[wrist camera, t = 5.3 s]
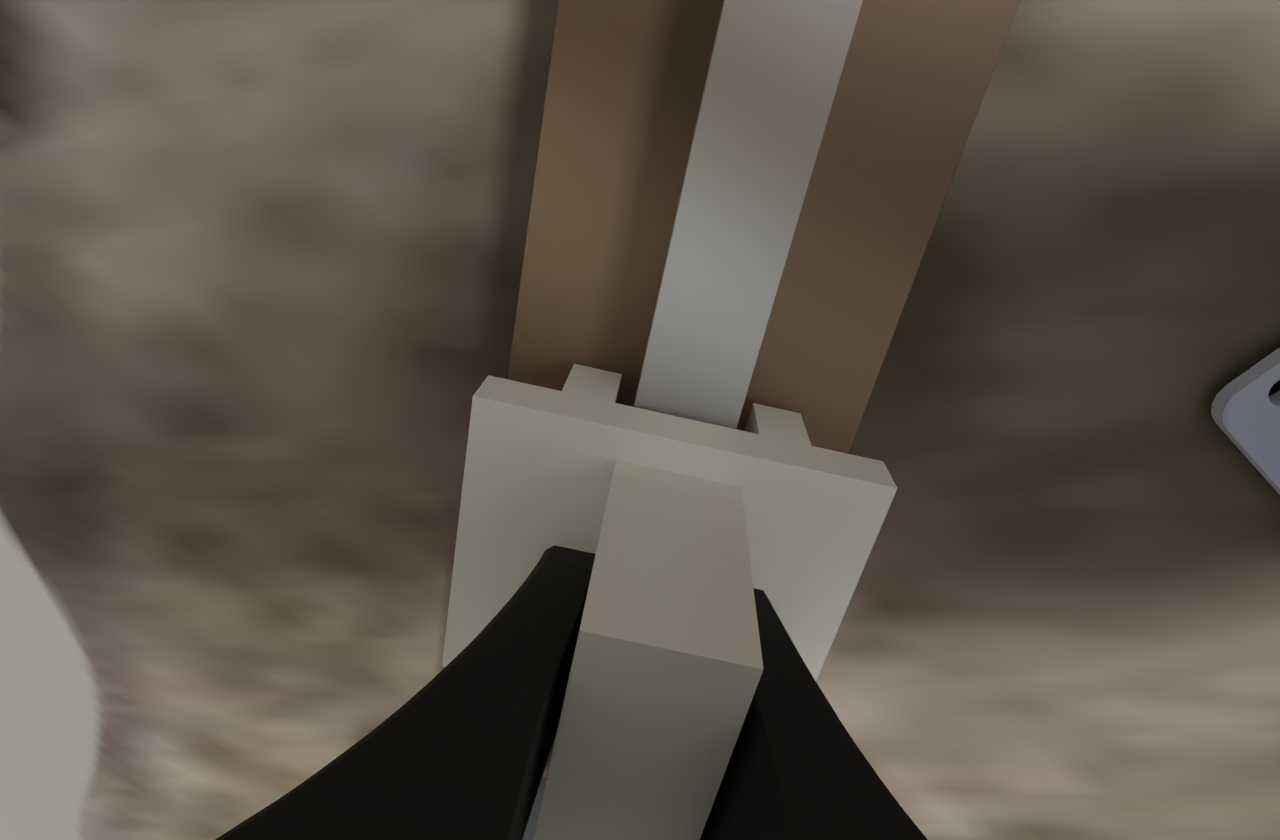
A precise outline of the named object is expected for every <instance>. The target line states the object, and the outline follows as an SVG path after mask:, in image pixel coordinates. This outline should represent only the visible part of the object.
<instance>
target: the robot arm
mask: <svg viewBox="0 0 1280 840" xmlns="http://www.w3.org/2000/svg"><path fill="white" fill-rule="evenodd" d="M1279 380H1280V347H1279V348H1278V349H1276V350H1275V351H1274V352H1272V353H1271V354H1269V355H1268V356H1267V357H1265V358H1264V359H1262V360H1261V361H1260V362H1258V363H1257V364H1255V365H1254V366H1253V367H1251V368H1250V369H1248V370H1247V371H1245V372H1244V373H1243V374H1241V375H1240V376H1238V377H1237V378H1236V379H1234V380H1233V381H1231V382H1230V383H1229V384H1227V385H1226V386H1225V387H1224V388H1223V389H1222V390H1221V391H1220V392H1219V393H1217V395H1216V397H1215V399H1214V401H1213V403H1212V407H1211V415H1212V417H1213V419H1214V421H1215V423H1216V424H1217V425H1218V426H1219V427H1220V428H1221V430H1222V431H1223V432H1224V433H1225V434H1226V435H1227V436H1228V437H1229V439H1230V440H1231V441H1232V442H1233V443H1234V444H1235V445H1236V446H1237V448H1238V449H1239V450H1240V451H1241V452H1242V453H1243V454H1244V455H1245V457H1246V458H1247V459H1248V460H1249V461H1250V462H1251V463H1252V464H1253V466H1254V467H1255V468H1256V469H1257V470H1258V471H1259V472H1260V473H1261V475H1262V476H1263V477H1264V478H1265V479H1266V480H1267V481H1268V482H1269V484H1270V485H1271V486H1272V487H1273V488H1274V489H1275V490H1276V491H1277V493H1278V494H1279V495H1280V390H1279V391H1278V392H1277V393H1275V394H1273V395H1270V396H1268V394H1269V391H1270V388H1271V387H1272V386H1273V385H1274V384H1275V383H1276V382H1277V381H1279ZM594 559H595V554H593V553H589V552H584V551H579V550H575V549H570V548H566V547H561V546H556V545H554V546H552V547H550V548H548V549H546V550H545V551H544V553H543V555H542V557H541V559H540V560H539V562H538V563H537V565H536V566H535V568H534V569H533V570H532V572H531V573H530V575H529V576H528V577H527V579H526V580H525V581H524V583H523V584H522V585H521V586H520V588H519V589H518V590H517V591H516V593H515V594H514V595H513V596H512V597H511V599H510V600H509V601H508V602H507V603H506V605H505V606H504V607H503V608H502V609H501V610H500V611H499V612H498V613H497V615H496V616H495V617H494V618H493V619H492V620H491V621H490V622H489V623H488V625H487V626H486V627H485V628H484V629H483V630H482V631H481V632H480V633H479V634H478V636H477V637H476V638H475V639H474V640H473V641H472V642H471V643H470V644H469V645H468V646H467V647H466V648H465V649H464V650H463V651H462V652H460V653H459V654H458V655H457V656H456V657H455V658H454V659H453V660H452V661H451V662H450V663H449V664H448V665H447V666H446V667H445V668H444V669H443V670H442V671H441V672H440V673H439V674H438V675H437V676H436V677H435V678H434V679H433V680H432V681H430V682H429V683H428V684H427V685H426V686H425V687H424V688H423V689H422V690H420V691H419V692H418V693H417V694H416V695H415V696H414V697H413V698H411V699H410V700H409V701H408V702H407V703H406V704H404V705H403V706H402V707H401V708H400V709H399V710H397V711H396V712H395V713H394V714H392V715H391V716H390V717H389V718H388V719H386V720H385V721H384V722H383V723H381V724H380V725H379V726H378V727H377V728H375V729H374V730H373V731H372V732H370V733H369V734H368V735H367V736H365V737H364V738H363V739H361V740H360V741H359V742H357V743H356V744H355V745H353V746H352V747H351V748H349V749H348V750H347V751H345V752H344V753H343V754H341V755H340V756H339V757H337V758H336V759H335V760H333V761H332V762H331V763H329V764H328V765H327V766H325V767H324V768H322V769H321V770H320V771H318V772H317V773H316V774H314V775H313V776H311V777H310V778H309V779H307V780H306V781H304V782H303V783H302V784H300V785H299V786H297V787H296V788H294V789H293V790H291V791H290V792H289V793H287V794H286V795H284V796H283V797H281V798H280V799H278V800H277V801H275V802H274V803H272V804H270V805H269V806H267V807H266V808H264V809H263V810H261V811H259V812H258V813H256V814H255V815H253V816H252V817H250V818H248V819H247V820H245V821H244V822H242V823H241V824H239V825H237V826H236V827H234V828H233V829H231V830H230V831H228V832H227V833H225V834H223V835H222V836H220V837H219V838H217V839H216V840H522V839H523V836H524V833H525V830H526V827H527V824H528V821H529V817H530V814H531V811H532V808H533V805H534V802H535V799H536V795H537V792H538V789H539V786H540V783H541V780H542V777H543V773H544V770H545V767H546V764H547V761H548V758H549V754H550V751H551V748H552V745H553V742H554V739H555V735H556V732H557V729H558V724H559V719H560V715H561V710H562V706H563V701H564V697H565V692H566V688H567V683H568V678H569V674H570V669H571V665H572V660H573V656H574V651H575V646H576V642H577V637H578V633H579V628H580V624H581V619H582V615H583V610H584V605H585V601H586V596H587V592H588V587H589V582H590V578H591V573H592V568H593V564H594ZM753 589H754V597H755V605H756V613H757V621H758V629H759V637H760V645H761V653H762V661H763V672H762V675H761V677H760V680H759V683H758V685H757V688H756V691H755V693H754V696H753V699H752V701H751V704H750V707H749V709H748V712H747V715H746V717H745V720H744V723H743V725H742V728H741V731H740V733H739V736H738V739H737V741H736V744H735V747H734V749H733V752H732V755H731V757H730V760H729V763H728V765H727V768H726V771H725V773H724V776H723V779H722V781H721V784H720V787H719V789H718V792H717V795H716V797H715V800H714V803H713V805H712V808H711V811H710V813H709V816H708V819H707V822H706V824H705V827H704V830H703V832H702V835H701V838H700V840H927V839H926V837H925V836H924V835H923V834H922V832H921V831H920V830H919V829H918V827H917V826H916V825H915V824H914V822H913V821H912V820H911V819H910V817H909V816H908V815H907V814H906V812H905V811H904V810H903V809H902V807H901V806H900V805H899V804H898V802H897V801H896V800H895V798H894V797H893V796H892V794H891V793H890V792H889V790H888V789H887V788H886V786H885V785H884V784H883V782H882V781H881V780H880V778H879V777H878V775H877V774H876V772H875V771H874V770H873V768H872V767H871V765H870V764H869V762H868V761H867V760H866V758H865V757H864V755H863V754H862V753H861V751H860V750H859V748H858V747H857V745H856V744H855V743H854V741H853V740H852V738H851V737H850V735H849V734H848V732H847V730H846V729H845V727H844V726H843V724H842V723H841V721H840V720H839V718H838V717H837V715H836V713H835V712H834V710H833V709H832V707H831V705H830V704H829V702H828V701H827V699H826V697H825V696H824V694H823V692H822V691H821V689H820V688H819V686H818V684H817V683H816V681H815V680H814V678H813V676H812V674H811V673H810V671H809V669H808V668H807V666H806V664H805V663H804V661H803V659H802V657H801V656H800V654H799V652H798V650H797V649H796V647H795V645H794V643H793V642H792V640H791V638H790V636H789V635H788V633H787V631H786V629H785V627H784V626H783V624H782V622H781V620H780V619H779V617H778V615H777V613H776V611H775V610H774V608H773V606H772V604H771V602H770V601H769V599H768V597H767V596H766V594H765V592H764V591H763V590H760V589H755V588H753Z"/></svg>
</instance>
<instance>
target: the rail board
mask: <svg viewBox="0 0 1280 840" xmlns="http://www.w3.org/2000/svg"><path fill="white" fill-rule="evenodd" d="M1019 1H1020V0H559V2H558V10H557V17H556V24H555V32H554V39H553V46H552V54H551V61H550V68H549V76H548V83H547V90H546V98H545V105H544V112H543V120H542V127H541V135H540V142H539V149H538V157H537V164H536V171H535V179H534V186H533V193H532V201H531V208H530V215H529V223H528V230H527V237H526V245H525V252H524V259H523V267H522V274H521V281H520V289H519V296H518V303H517V311H516V318H515V325H514V333H513V340H512V347H511V355H510V362H509V369H508V377H507V379H508V380H513V381H517V382H522V383H526V384H531V385H535V386H540V387H545V388H549V389H554V390H558V391H562V389H563V387H564V385H565V382H566V380H567V378H568V376H569V374H570V371H571V369H572V367H573V365H574V364H578V365H583V366H587V367H592V368H596V369H601V370H605V371H610V372H614V373H619V374H622V376H621V381H620V386H619V391H618V395H617V400H616V403H618V404H622V405H627V406H632V407H636V408H641V409H645V410H650V411H655V412H659V413H664V414H668V415H673V416H677V417H682V418H687V419H691V420H696V421H700V422H705V423H710V424H714V425H719V426H723V427H728V428H732V429H737V430H742V431H745V428H746V425H747V421H748V418H749V415H750V411H751V408H752V405H753V403H756V404H760V405H765V406H770V407H774V408H779V409H783V410H788V411H792V412H797V413H800V414H801V416H802V419H803V422H804V425H805V428H806V431H807V434H808V437H809V440H810V442H811V445H812V446H815V447H819V448H824V449H829V450H833V451H838V452H842V453H847V454H849V451H850V448H851V446H852V443H853V440H854V438H855V435H856V432H857V430H858V427H859V425H860V422H861V419H862V417H863V414H864V411H865V409H866V406H867V403H868V401H869V398H870V395H871V393H872V390H873V387H874V385H875V382H876V379H877V377H878V374H879V372H880V369H881V366H882V364H883V361H884V358H885V356H886V353H887V350H888V348H889V345H890V342H891V340H892V337H893V334H894V332H895V329H896V326H897V324H898V321H899V319H900V316H901V313H902V311H903V308H904V305H905V303H906V300H907V297H908V295H909V292H910V289H911V287H912V284H913V281H914V279H915V276H916V274H917V271H918V268H919V266H920V263H921V260H922V258H923V255H924V252H925V250H926V247H927V244H928V242H929V239H930V236H931V234H932V231H933V228H934V226H935V223H936V221H937V218H938V215H939V213H940V210H941V207H942V205H943V202H944V199H945V197H946V194H947V191H948V189H949V186H950V183H951V181H952V178H953V175H954V173H955V170H956V168H957V165H958V162H959V160H960V157H961V154H962V152H963V149H964V146H965V144H966V141H967V138H968V136H969V133H970V130H971V128H972V125H973V122H974V120H975V117H976V115H977V112H978V109H979V107H980V104H981V101H982V99H983V96H984V93H985V91H986V88H987V85H988V83H989V80H990V77H991V75H992V72H993V69H994V67H995V64H996V62H997V59H998V56H999V54H1000V51H1001V48H1002V46H1003V43H1004V40H1005V38H1006V35H1007V32H1008V30H1009V27H1010V24H1011V22H1012V19H1013V16H1014V14H1015V11H1016V9H1017V6H1018V3H1019ZM556 733H557V732H556ZM555 737H556V735H555ZM554 742H555V739H554ZM554 742H553V745H552V748H551V751H550V754H549V758H548V761H547V764H546V767H545V770H544V773H543V777H547V774H548V770H549V765H550V761H551V756H552V751H553V747H554Z"/></svg>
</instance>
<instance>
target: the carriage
mask: <svg viewBox="0 0 1280 840" xmlns="http://www.w3.org/2000/svg"><path fill="white" fill-rule="evenodd" d="M621 376H622V374H619V373H614V372H610V371H605V370H601V369H596V368H592V367H587V366H583V365H578V364H574V365H573V367H572V369H571V371H570V374H569V376H568V378H567V380H566V382H565V385H564V387H563V389H562V391H558V390H554V389H549V388H545V387H540V386H535V385H531V384H526V383H522V382H517V381H513V380H508V379H503V378H499V377H494V376H490V375H488V376H487V378H486V379H485V380H484V382H483V383H482V384H481V386H480V387H479V388H478V390H477V391H476V392H475V394H474V395H473V399H472V408H471V416H470V425H469V434H468V442H467V451H466V460H465V469H464V477H463V486H462V495H461V503H460V512H459V521H458V529H457V538H456V547H455V555H454V564H453V573H452V582H451V590H450V599H449V608H448V616H447V625H446V634H445V642H444V651H443V660H442V666H443V667H446V666H447V665H448V664H449V663H450V662H451V661H452V660H453V659H454V658H455V657H456V656H457V655H458V654H459V653H460V652H462V651H463V650H464V649H465V648H466V647H467V646H468V645H469V644H470V643H471V642H472V641H473V640H474V639H475V638H476V637H477V636H478V634H479V633H480V632H481V631H482V630H483V629H484V628H485V627H486V626H487V625H488V623H489V622H490V621H491V620H492V619H493V618H494V617H495V616H496V615H497V613H498V612H499V611H500V610H501V609H502V608H503V607H504V606H505V605H506V603H507V602H508V601H509V600H510V599H511V597H512V596H513V595H514V594H515V593H516V591H517V590H518V589H519V588H520V586H521V585H522V584H523V583H524V581H525V580H526V579H527V577H528V576H529V575H530V573H531V572H532V570H533V569H534V568H535V566H536V565H537V563H538V562H539V560H540V559H541V557H542V555H543V553H544V551H545V550H546V549H548V548H550V547H552V546H554V545H556V546H561V547H566V548H570V549H575V550H579V551H584V552H589V553H593V554H595V559H594V564H593V568H592V573H591V578H590V582H589V587H588V592H587V596H586V601H585V605H584V610H583V615H582V619H581V624H580V628H579V633H578V637H577V642H576V646H575V651H574V656H573V660H572V665H571V669H570V674H569V678H568V683H567V688H566V692H565V697H564V701H563V706H562V710H561V715H560V719H559V724H558V729H557V733H556V737H555V742H554V747H553V751H552V756H551V761H550V765H549V770H548V774H547V779H546V784H545V788H544V793H543V798H542V802H541V807H540V811H539V816H538V821H537V825H536V830H535V835H534V839H533V840H700V838H701V835H702V832H703V830H704V827H705V824H706V822H707V819H708V816H709V813H710V811H711V808H712V805H713V803H714V800H715V797H716V795H717V792H718V789H719V787H720V784H721V781H722V779H723V776H724V773H725V771H726V768H727V765H728V763H729V760H730V757H731V755H732V752H733V749H734V747H735V744H736V741H737V739H738V736H739V733H740V731H741V728H742V725H743V723H744V720H745V717H746V715H747V712H748V709H749V707H750V704H751V701H752V699H753V696H754V693H755V691H756V688H757V685H758V683H759V680H760V677H761V675H762V672H763V661H762V653H761V645H760V637H759V629H758V621H757V613H756V605H755V597H754V589H753V588H755V589H760V590H763V591H764V592H765V594H766V596H767V597H768V599H769V601H770V602H771V604H772V606H773V608H774V610H775V611H776V613H777V615H778V617H779V619H780V620H781V622H782V624H783V626H784V627H785V629H786V631H787V633H788V635H789V636H790V638H791V640H792V642H793V643H794V645H795V647H796V649H797V650H798V652H799V654H800V656H801V657H802V659H803V661H804V663H805V664H806V666H807V668H808V669H809V671H810V673H811V674H812V676H813V678H814V680H815V681H817V678H818V676H819V674H820V671H821V669H822V666H823V664H824V662H825V659H826V657H827V655H828V652H829V650H830V647H831V645H832V643H833V640H834V638H835V636H836V633H837V631H838V628H839V626H840V624H841V621H842V619H843V617H844V614H845V612H846V609H847V607H848V605H849V602H850V600H851V598H852V595H853V593H854V590H855V588H856V586H857V583H858V581H859V579H860V576H861V574H862V571H863V569H864V567H865V564H866V562H867V560H868V557H869V555H870V552H871V550H872V548H873V545H874V543H875V541H876V538H877V536H878V533H879V531H880V529H881V526H882V524H883V522H884V519H885V517H886V514H887V512H888V510H889V507H890V505H891V503H892V500H893V498H894V495H895V493H896V491H897V486H896V484H895V483H894V481H893V479H892V477H891V475H890V473H889V471H888V469H887V467H886V466H885V464H884V462H883V461H879V460H874V459H870V458H865V457H861V456H856V455H852V454H847V453H842V452H838V451H833V450H829V449H824V448H819V447H815V446H812V445H811V442H810V440H809V437H808V434H807V431H806V428H805V425H804V422H803V419H802V416H801V414H800V413H797V412H792V411H788V410H783V409H779V408H774V407H770V406H765V405H760V404H756V403H753V405H752V408H751V411H750V415H749V418H748V421H747V425H746V428H745V431H742V430H737V429H732V428H728V427H723V426H719V425H714V424H710V423H705V422H700V421H696V420H691V419H687V418H682V417H677V416H673V415H668V414H664V413H659V412H655V411H650V410H645V409H641V408H636V407H632V406H627V405H622V404H618V403H616V400H617V395H618V391H619V386H620V381H621Z"/></svg>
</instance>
